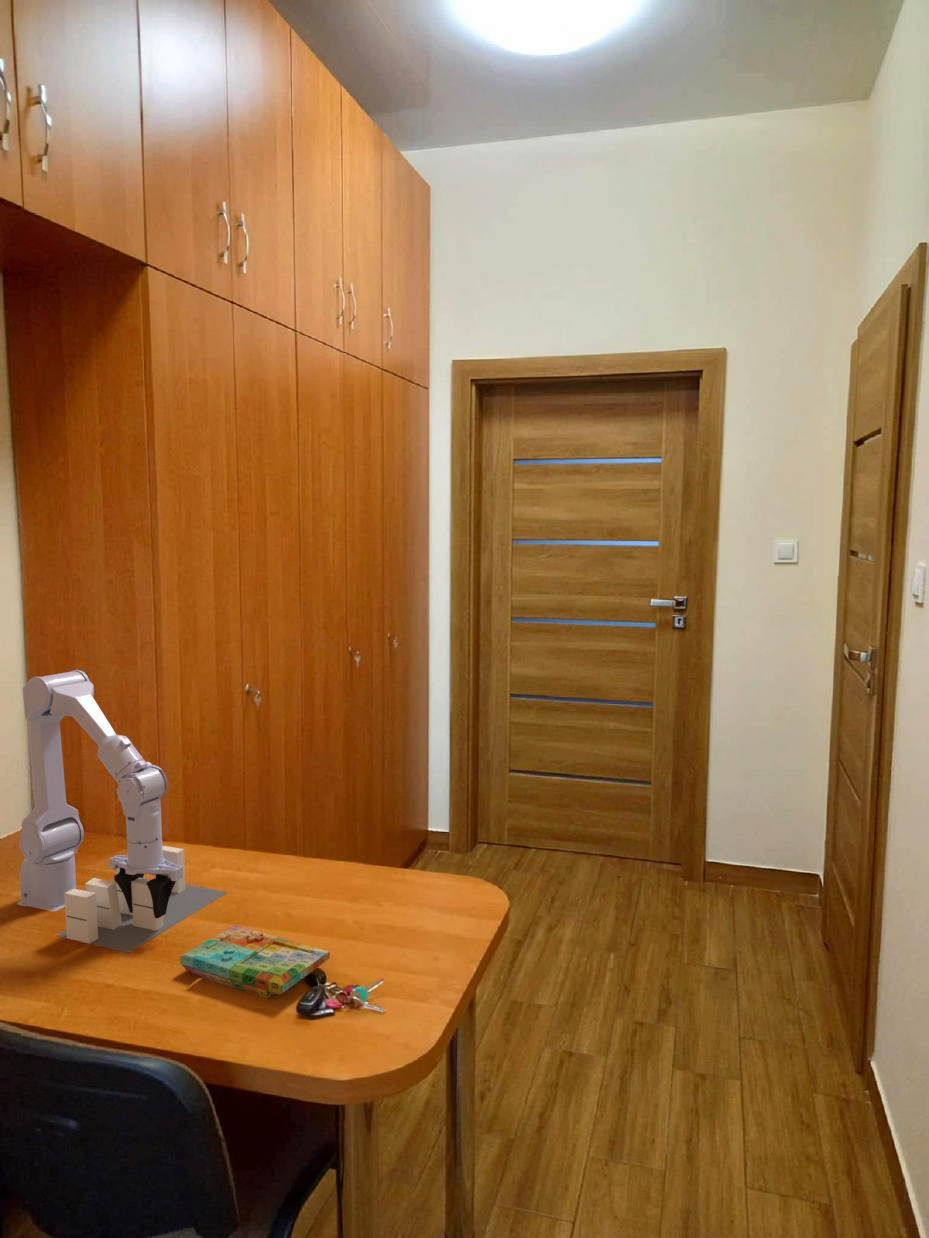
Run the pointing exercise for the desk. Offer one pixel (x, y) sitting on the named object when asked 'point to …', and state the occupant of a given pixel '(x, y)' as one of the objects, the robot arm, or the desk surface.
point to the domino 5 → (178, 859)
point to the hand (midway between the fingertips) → (147, 913)
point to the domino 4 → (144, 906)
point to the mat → (177, 910)
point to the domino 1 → (81, 915)
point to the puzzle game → (253, 961)
